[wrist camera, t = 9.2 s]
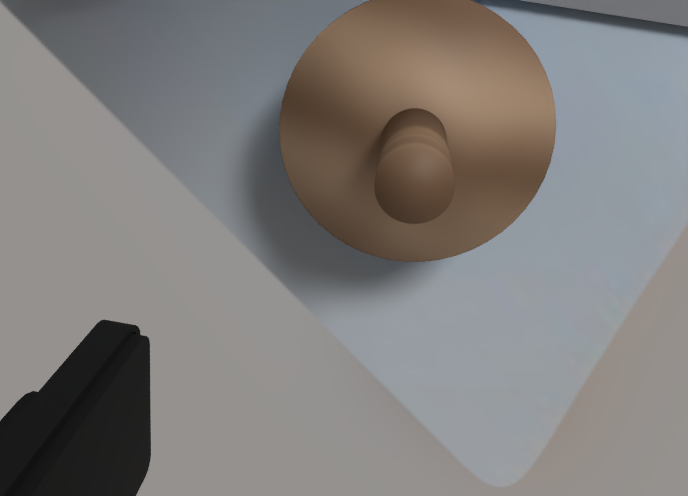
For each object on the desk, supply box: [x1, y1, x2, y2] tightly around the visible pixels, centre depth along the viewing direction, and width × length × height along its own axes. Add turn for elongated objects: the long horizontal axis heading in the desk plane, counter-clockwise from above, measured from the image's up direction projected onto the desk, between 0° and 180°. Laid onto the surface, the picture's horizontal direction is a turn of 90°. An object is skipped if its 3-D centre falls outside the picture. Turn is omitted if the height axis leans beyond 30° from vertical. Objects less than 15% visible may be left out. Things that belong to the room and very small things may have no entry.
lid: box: [279, 0, 556, 262], centre depth 24 cm, size 12×12×7 cm
